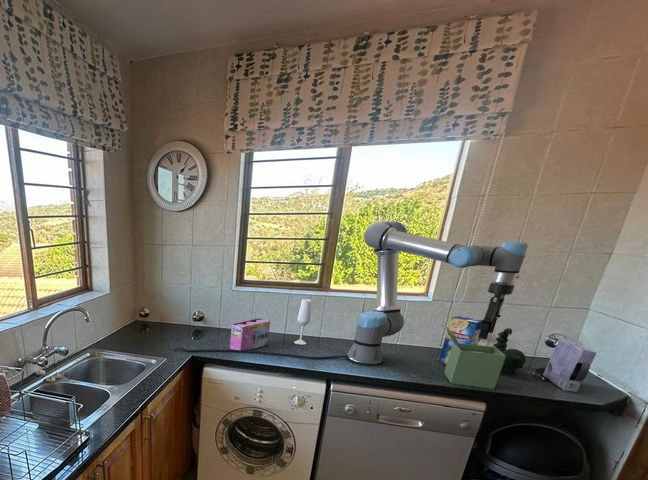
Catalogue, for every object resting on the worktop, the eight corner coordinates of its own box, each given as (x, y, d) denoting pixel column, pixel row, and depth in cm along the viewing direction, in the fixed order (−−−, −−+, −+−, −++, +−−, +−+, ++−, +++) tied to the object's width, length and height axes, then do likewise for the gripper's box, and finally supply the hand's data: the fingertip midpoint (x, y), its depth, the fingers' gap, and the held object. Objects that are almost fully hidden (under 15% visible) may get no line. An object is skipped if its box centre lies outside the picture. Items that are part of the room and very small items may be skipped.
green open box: (450, 383, 171) (460, 350, 165) (443, 373, 182) (453, 342, 176) (494, 389, 165) (506, 355, 160) (484, 378, 176) (495, 346, 171)
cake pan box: (580, 393, 161) (598, 352, 155) (564, 391, 163) (582, 350, 157) (555, 377, 178) (571, 339, 171) (541, 375, 180) (556, 337, 173)
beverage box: (463, 368, 188) (477, 322, 180) (438, 361, 197) (450, 317, 189) (470, 366, 191) (485, 320, 183) (446, 359, 200) (458, 315, 192)
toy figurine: (481, 363, 200) (500, 375, 178) (492, 325, 194) (513, 333, 172) (505, 366, 196) (527, 379, 174) (517, 327, 191) (541, 336, 169)
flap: (461, 349, 165) (460, 349, 165) (453, 340, 176) (452, 341, 176) (453, 333, 164) (452, 334, 165) (446, 326, 175) (445, 326, 176)
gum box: (258, 341, 227) (261, 317, 222) (269, 344, 221) (272, 320, 216) (229, 348, 214) (231, 323, 209) (240, 352, 208) (243, 327, 203)
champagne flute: (291, 342, 225) (297, 299, 216) (297, 340, 229) (303, 298, 220) (302, 345, 220) (309, 301, 212) (308, 342, 225) (315, 300, 216)
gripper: (510, 287, 147) (491, 343, 155) (519, 281, 163) (502, 331, 171) (484, 285, 152) (467, 339, 160) (495, 279, 168) (480, 328, 176)
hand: (485, 335), depth 166 cm, fingers open, 13 cm apart
